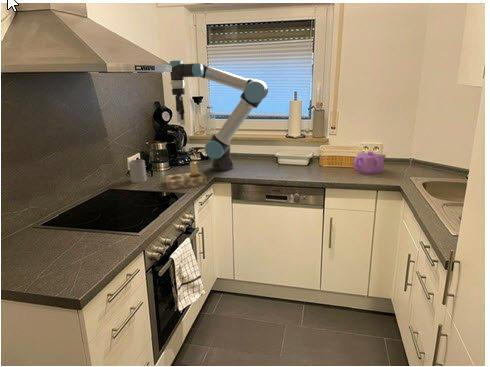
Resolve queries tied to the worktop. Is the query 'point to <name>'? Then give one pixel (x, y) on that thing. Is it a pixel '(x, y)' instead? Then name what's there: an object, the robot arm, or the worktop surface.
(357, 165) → the teakettle
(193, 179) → the jig
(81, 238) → the worktop surface
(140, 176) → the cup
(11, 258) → the worktop surface
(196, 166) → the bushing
